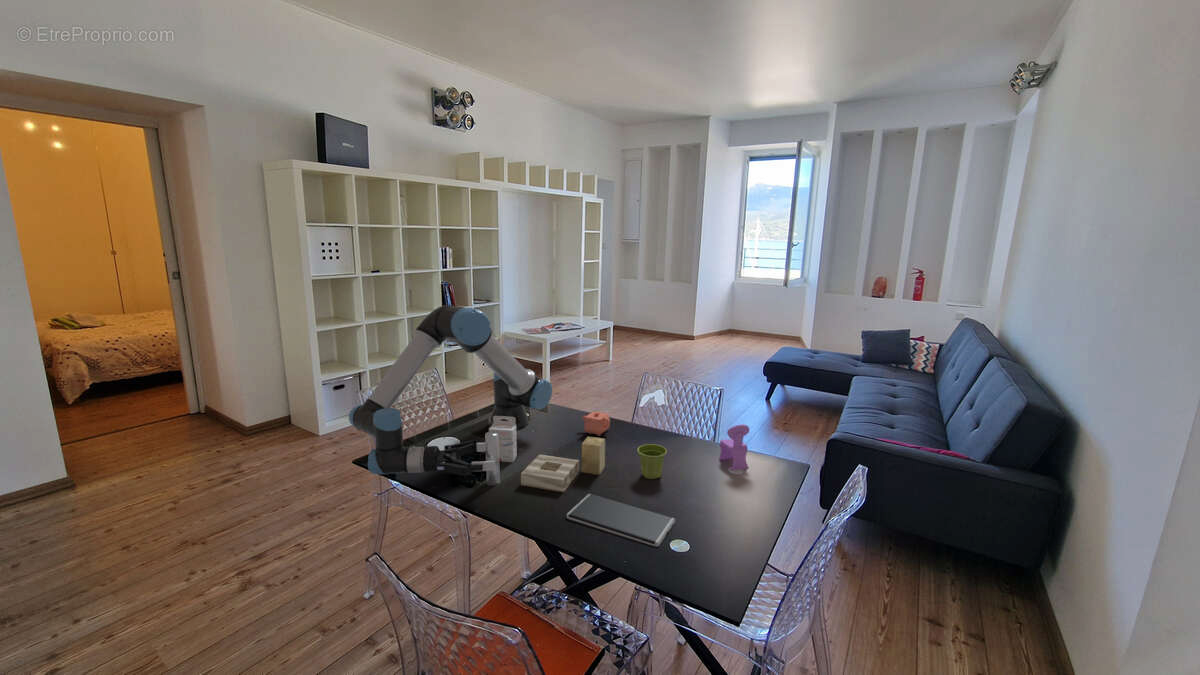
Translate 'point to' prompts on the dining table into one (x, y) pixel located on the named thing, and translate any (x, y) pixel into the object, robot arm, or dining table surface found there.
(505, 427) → the ink cartridge box
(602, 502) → the smartphone
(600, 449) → the square bar
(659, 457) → the plant pot
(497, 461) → the cylinder
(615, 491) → the dining table surface
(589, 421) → the pink cube teapot
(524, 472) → the socket block
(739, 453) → the toy chair
